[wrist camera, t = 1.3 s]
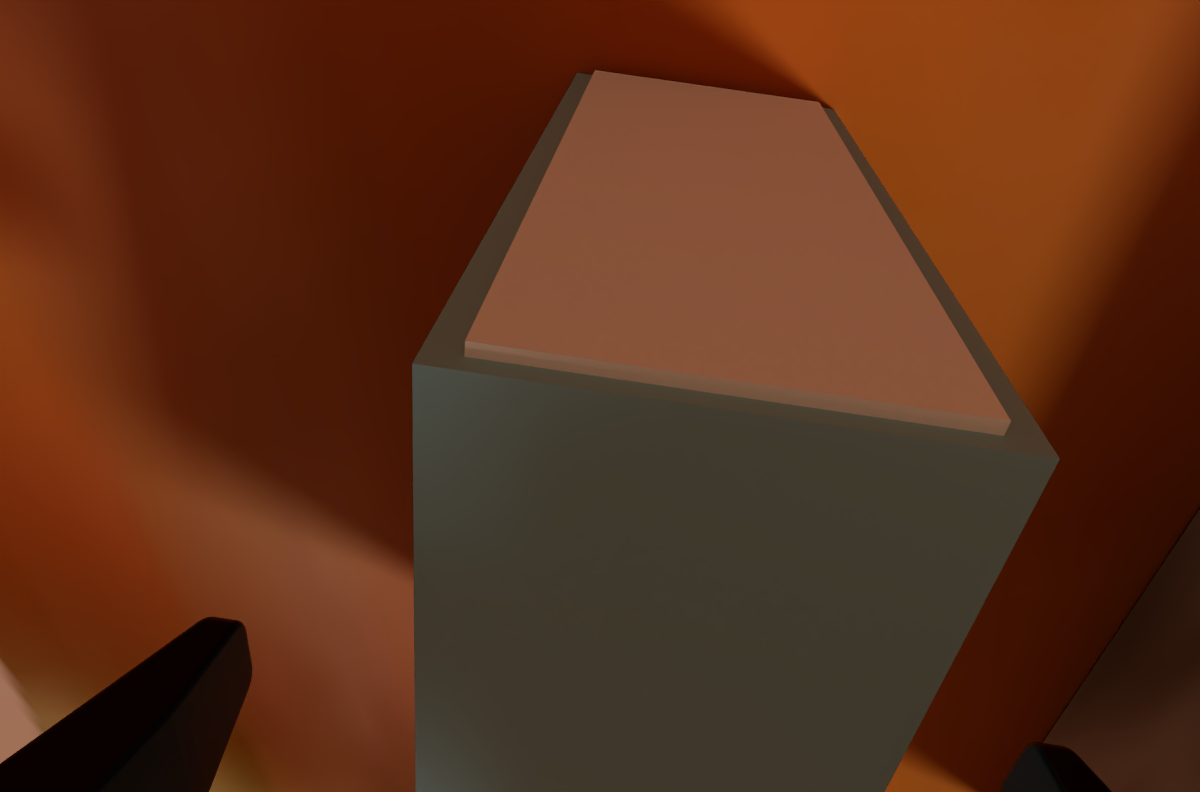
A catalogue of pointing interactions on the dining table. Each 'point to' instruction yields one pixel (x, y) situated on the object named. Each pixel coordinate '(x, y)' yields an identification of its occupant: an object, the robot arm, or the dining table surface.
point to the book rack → (1146, 687)
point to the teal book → (700, 463)
